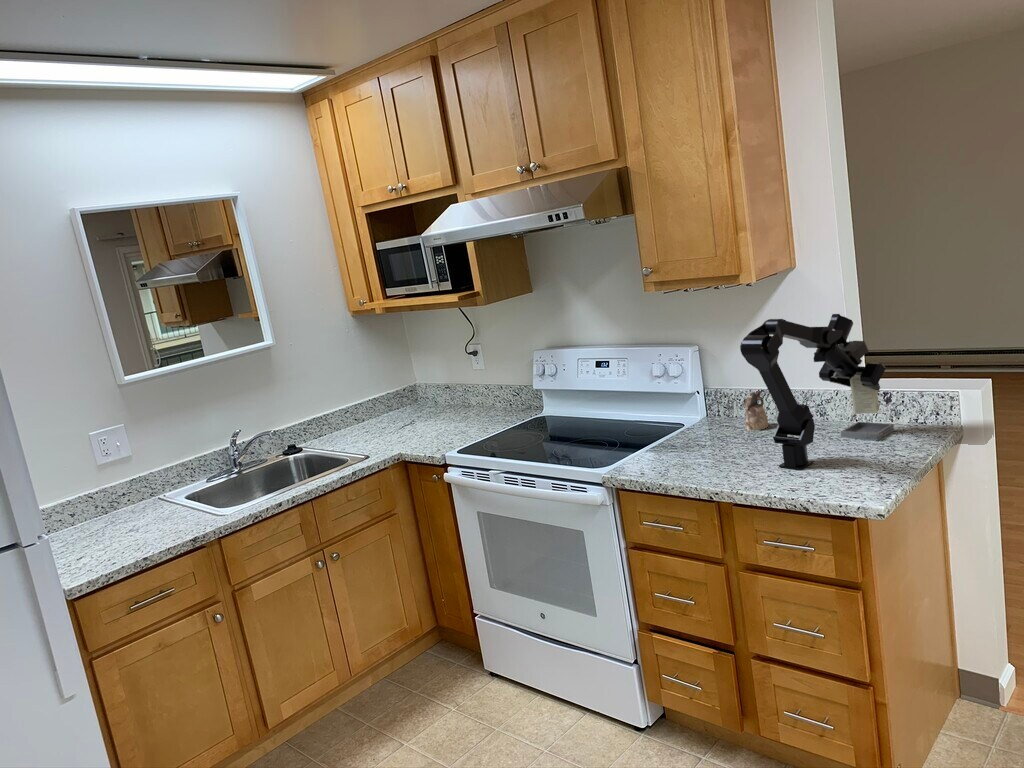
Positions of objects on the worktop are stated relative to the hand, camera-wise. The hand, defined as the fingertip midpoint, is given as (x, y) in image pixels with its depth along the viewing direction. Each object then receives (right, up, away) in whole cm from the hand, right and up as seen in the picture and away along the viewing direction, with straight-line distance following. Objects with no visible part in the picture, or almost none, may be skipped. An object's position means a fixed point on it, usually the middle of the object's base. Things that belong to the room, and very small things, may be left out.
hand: (867, 388), depth 216 cm
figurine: (-23, -13, +27) cm, 37 cm away
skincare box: (0, -7, +1) cm, 7 cm away
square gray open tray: (+1, -13, +2) cm, 13 cm away
